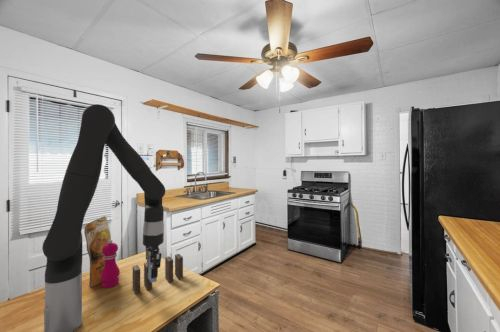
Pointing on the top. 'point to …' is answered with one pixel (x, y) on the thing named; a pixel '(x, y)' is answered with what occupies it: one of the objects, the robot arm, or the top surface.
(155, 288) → the top surface
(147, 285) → the domino
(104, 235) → the pancake mix bag
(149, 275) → the domino
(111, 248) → the pepper mill
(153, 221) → the robot arm
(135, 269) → the domino
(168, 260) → the domino
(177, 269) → the domino
